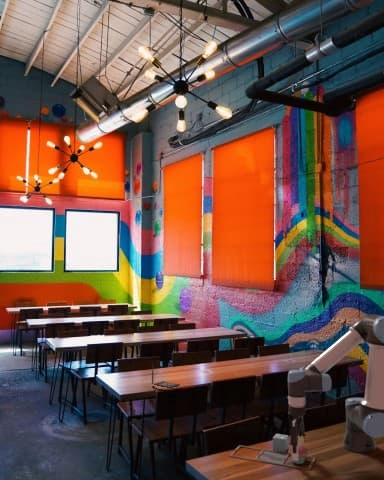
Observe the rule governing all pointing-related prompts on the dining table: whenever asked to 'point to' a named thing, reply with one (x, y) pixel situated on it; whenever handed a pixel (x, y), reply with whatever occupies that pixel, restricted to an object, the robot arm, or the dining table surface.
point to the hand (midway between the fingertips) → (298, 455)
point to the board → (272, 457)
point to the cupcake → (299, 453)
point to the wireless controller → (163, 383)
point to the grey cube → (280, 443)
